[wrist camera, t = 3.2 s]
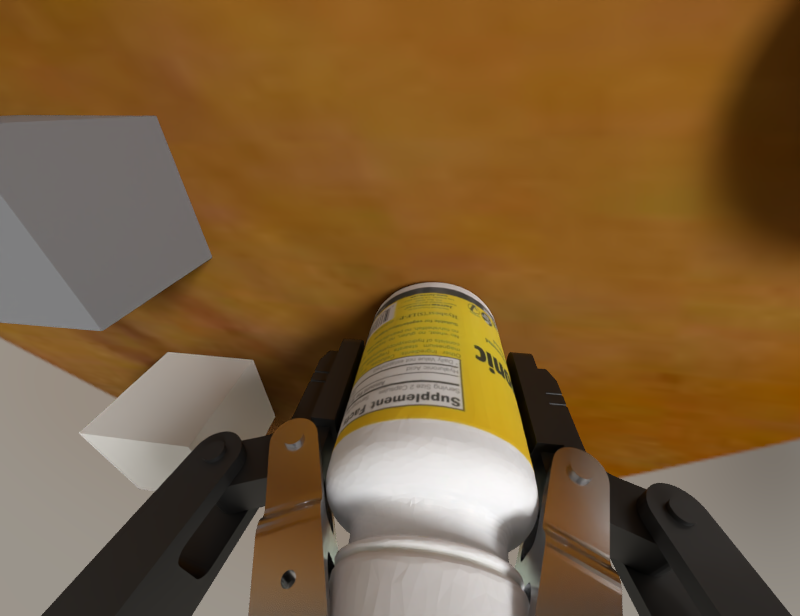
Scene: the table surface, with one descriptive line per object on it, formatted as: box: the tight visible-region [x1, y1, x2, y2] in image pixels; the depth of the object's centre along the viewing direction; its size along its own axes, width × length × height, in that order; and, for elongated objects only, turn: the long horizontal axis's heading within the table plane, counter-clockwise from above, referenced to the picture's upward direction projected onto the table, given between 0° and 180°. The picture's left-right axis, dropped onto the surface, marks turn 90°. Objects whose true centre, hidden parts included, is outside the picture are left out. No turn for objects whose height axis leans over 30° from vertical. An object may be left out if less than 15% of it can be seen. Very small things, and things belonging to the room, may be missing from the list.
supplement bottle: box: [326, 282, 539, 616], centre depth 9 cm, size 5×5×10 cm
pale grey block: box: [79, 352, 275, 491], centre depth 16 cm, size 5×5×5 cm
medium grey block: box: [0, 115, 212, 331], centre depth 9 cm, size 5×5×5 cm
